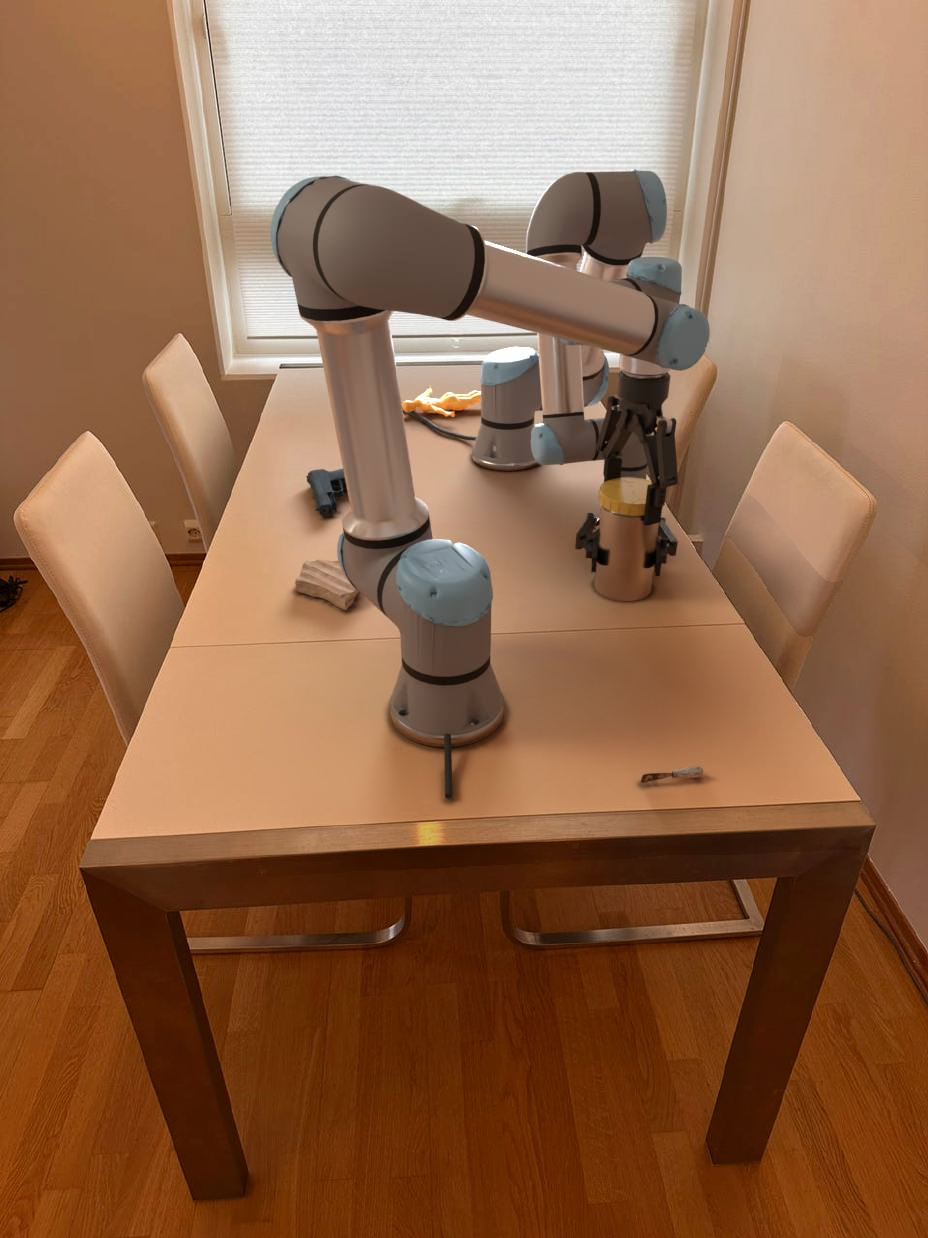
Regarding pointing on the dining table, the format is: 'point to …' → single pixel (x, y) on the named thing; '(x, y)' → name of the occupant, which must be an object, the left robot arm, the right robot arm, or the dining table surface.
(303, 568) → the stone
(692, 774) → the putty knife
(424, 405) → the human figure
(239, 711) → the dining table surface
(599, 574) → the jar
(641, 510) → the lid
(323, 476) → the handgun
